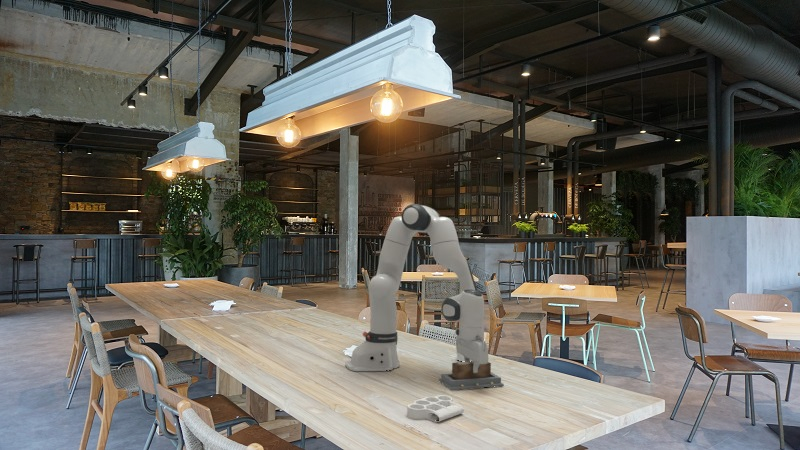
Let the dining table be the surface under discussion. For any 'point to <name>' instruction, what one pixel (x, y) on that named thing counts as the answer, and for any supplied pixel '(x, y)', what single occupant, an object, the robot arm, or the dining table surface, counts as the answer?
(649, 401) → the dining table surface
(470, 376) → the frame block
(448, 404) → the light grey compartment holder
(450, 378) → the dark grey rectangular tray
